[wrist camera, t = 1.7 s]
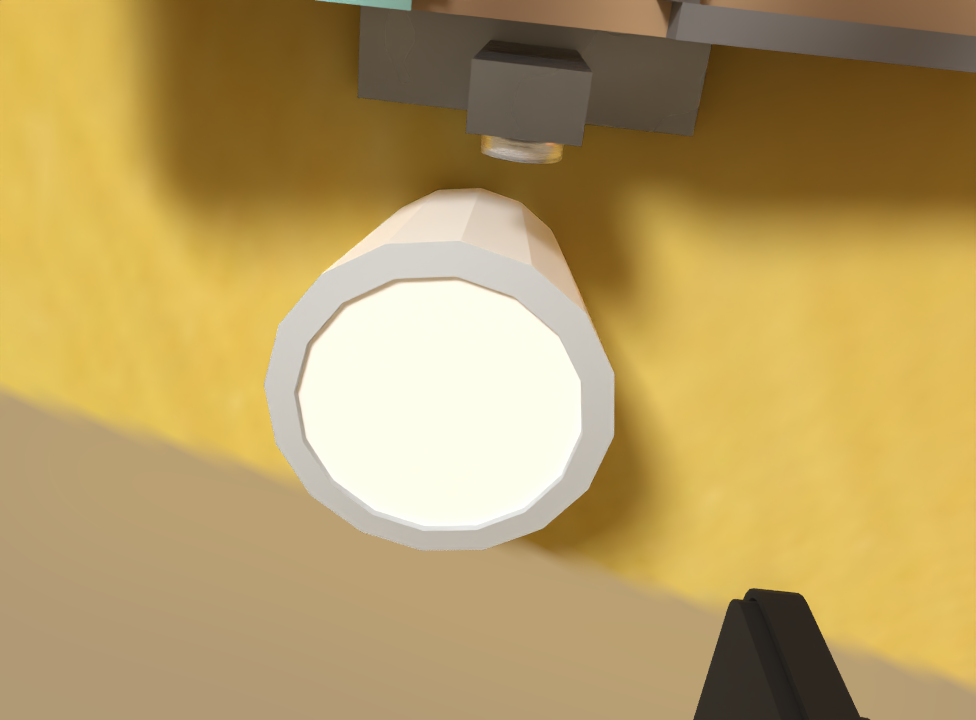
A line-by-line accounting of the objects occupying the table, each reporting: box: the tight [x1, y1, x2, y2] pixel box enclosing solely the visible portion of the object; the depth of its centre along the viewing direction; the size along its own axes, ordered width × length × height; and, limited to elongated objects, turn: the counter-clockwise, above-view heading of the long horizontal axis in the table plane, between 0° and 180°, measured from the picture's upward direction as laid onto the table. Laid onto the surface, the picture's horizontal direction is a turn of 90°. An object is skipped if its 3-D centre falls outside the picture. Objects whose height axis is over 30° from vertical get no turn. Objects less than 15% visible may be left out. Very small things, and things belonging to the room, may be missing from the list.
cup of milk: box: [264, 188, 614, 551], centre depth 18 cm, size 7×7×7 cm
